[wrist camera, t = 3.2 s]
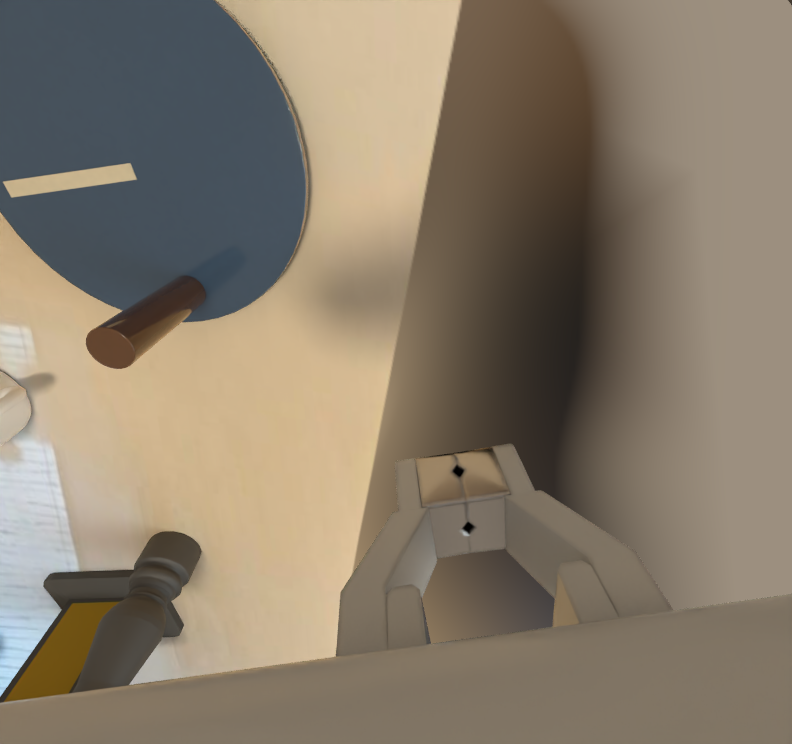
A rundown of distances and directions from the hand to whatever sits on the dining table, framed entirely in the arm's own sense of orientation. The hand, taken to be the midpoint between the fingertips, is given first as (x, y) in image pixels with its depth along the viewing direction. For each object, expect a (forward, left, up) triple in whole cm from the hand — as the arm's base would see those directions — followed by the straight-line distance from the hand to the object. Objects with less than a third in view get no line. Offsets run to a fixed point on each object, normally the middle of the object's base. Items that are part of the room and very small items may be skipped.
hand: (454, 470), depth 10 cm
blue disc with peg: (+18, -8, -24) cm, 31 cm away
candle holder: (+33, +32, -25) cm, 52 cm away
